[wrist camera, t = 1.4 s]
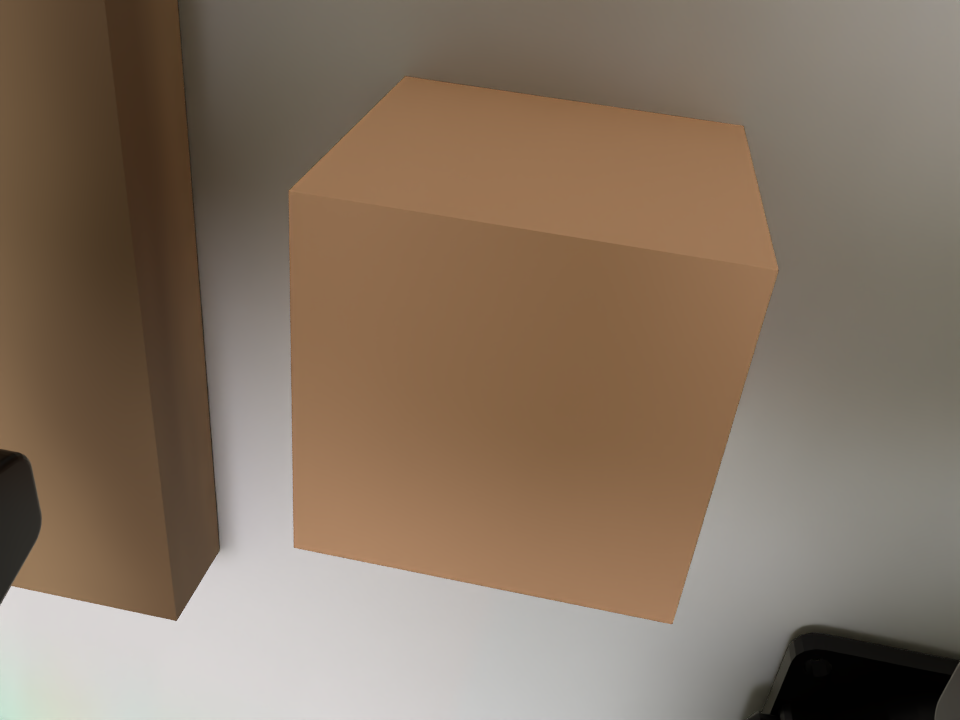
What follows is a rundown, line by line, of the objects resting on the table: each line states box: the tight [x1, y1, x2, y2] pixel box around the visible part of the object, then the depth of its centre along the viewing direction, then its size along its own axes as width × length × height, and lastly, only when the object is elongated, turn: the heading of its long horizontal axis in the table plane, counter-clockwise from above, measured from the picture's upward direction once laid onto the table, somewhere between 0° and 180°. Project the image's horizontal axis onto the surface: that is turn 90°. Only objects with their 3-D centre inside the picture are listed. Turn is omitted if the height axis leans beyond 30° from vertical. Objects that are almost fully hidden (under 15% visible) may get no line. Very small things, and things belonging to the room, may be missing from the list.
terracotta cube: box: [289, 76, 779, 624], centre depth 13 cm, size 5×5×5 cm
